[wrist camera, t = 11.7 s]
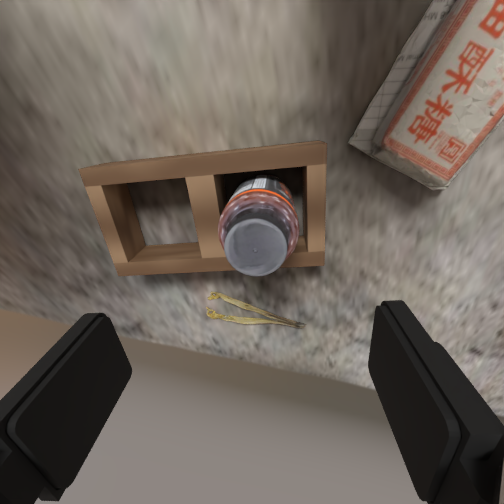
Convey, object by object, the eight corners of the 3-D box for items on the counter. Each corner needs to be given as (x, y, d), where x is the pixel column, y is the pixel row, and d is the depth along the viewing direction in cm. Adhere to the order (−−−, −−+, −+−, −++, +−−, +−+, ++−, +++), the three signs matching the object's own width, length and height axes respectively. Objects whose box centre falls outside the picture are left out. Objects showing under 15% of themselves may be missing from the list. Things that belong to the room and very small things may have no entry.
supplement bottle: (302, 215, 26) (319, 271, 16) (251, 238, 28) (237, 303, 18) (276, 160, 24) (278, 185, 14) (222, 189, 26) (189, 231, 16)
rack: (105, 163, 26) (78, 169, 22) (318, 140, 23) (326, 143, 20) (137, 258, 30) (118, 276, 27) (317, 247, 28) (324, 265, 24)
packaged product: (466, 205, 21) (359, 146, 19) (433, 191, 25) (344, 142, 24) (750, -113, 13) (602, -243, 12) (630, -53, 17) (513, -143, 16)
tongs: (304, 329, 34) (305, 340, 32) (207, 309, 34) (203, 319, 33) (312, 303, 32) (314, 314, 30) (210, 283, 32) (205, 292, 31)
